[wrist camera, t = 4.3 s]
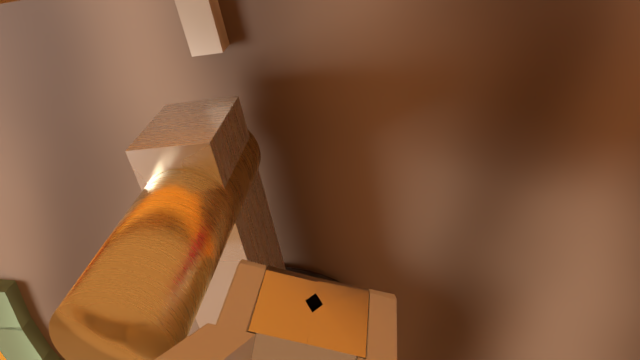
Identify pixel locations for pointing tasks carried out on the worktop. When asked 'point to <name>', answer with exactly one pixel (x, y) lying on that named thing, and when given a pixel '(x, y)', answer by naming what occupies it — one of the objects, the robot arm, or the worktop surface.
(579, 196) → the wooden board
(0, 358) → the worktop surface
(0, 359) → the worktop surface
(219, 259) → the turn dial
